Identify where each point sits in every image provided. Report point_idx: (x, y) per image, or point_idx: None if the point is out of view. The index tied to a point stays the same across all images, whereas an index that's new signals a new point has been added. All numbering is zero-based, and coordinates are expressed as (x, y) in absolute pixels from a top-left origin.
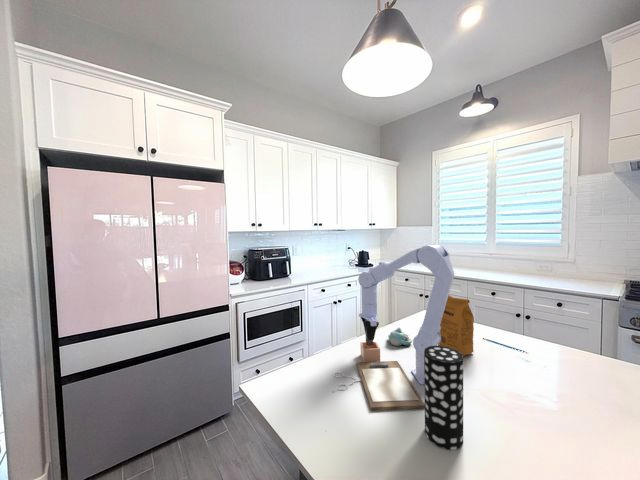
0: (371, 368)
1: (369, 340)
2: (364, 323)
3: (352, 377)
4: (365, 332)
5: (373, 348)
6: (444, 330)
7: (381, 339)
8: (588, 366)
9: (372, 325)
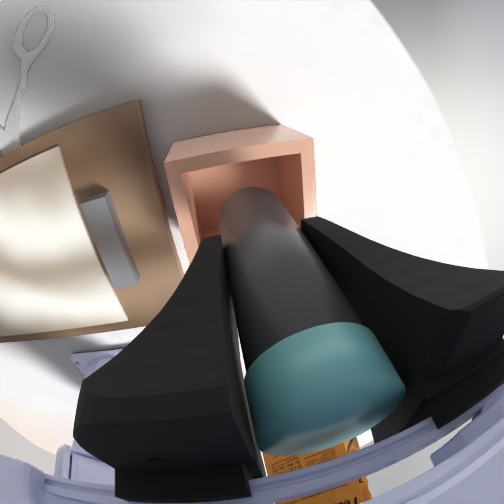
0: (83, 198)
1: (223, 242)
2: (80, 421)
3: (14, 106)
4: (317, 230)
5: (195, 242)
6: (313, 464)
7: (427, 250)
8: None
9: (9, 470)
